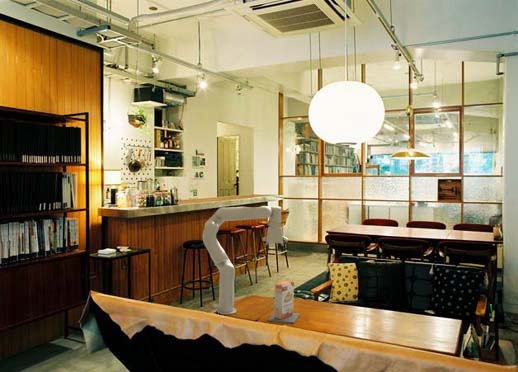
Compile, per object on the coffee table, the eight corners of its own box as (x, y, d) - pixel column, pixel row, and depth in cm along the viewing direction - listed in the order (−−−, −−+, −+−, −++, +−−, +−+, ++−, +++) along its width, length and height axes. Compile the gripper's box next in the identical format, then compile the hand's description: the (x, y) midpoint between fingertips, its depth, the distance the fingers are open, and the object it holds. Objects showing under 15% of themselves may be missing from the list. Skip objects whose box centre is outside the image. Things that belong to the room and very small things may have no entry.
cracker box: (282, 320, 261) (282, 285, 261) (273, 318, 264) (274, 283, 264) (293, 314, 272) (294, 281, 272) (285, 312, 276) (286, 279, 276)
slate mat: (267, 321, 262) (267, 319, 262) (274, 312, 279) (274, 311, 279) (294, 323, 258) (294, 322, 258) (299, 315, 275) (299, 313, 275)
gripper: (261, 225, 284) (260, 251, 284) (287, 226, 279) (286, 253, 279) (264, 224, 291) (263, 249, 291) (289, 225, 286) (289, 251, 287)
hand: (274, 251), depth 285 cm, fingers open, 9 cm apart
